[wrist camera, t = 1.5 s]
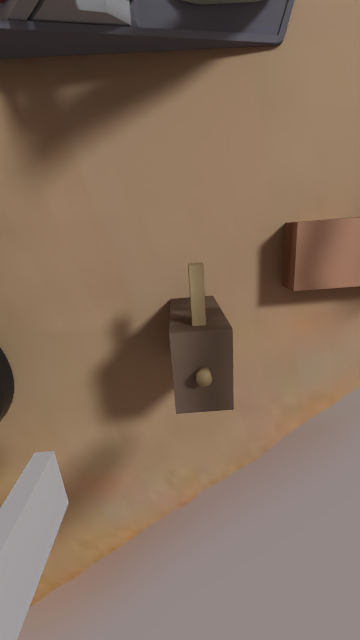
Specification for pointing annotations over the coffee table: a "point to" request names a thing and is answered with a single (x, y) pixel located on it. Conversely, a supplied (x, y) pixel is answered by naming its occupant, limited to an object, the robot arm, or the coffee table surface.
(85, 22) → the hand plane
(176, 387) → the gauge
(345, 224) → the board
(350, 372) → the coffee table surface
